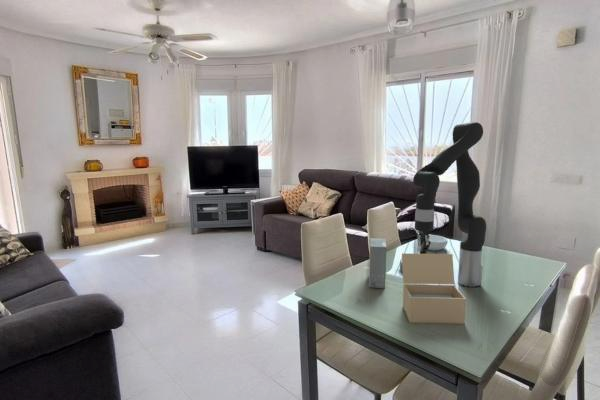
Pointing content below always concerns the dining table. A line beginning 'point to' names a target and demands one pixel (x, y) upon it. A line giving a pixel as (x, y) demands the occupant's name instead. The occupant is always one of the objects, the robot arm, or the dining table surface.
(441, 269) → the lid
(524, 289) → the dining table surface
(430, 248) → the cereal bowl
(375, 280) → the hard drive box
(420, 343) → the dining table surface
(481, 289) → the dining table surface
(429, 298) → the carton
